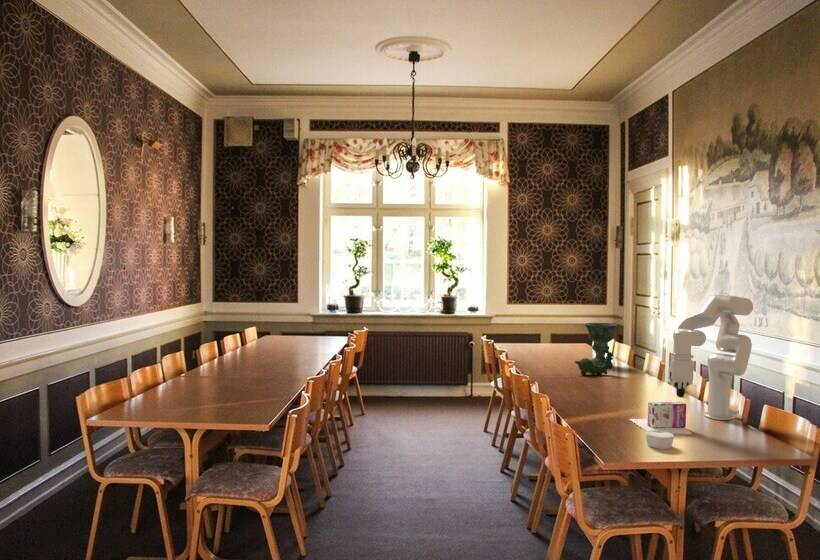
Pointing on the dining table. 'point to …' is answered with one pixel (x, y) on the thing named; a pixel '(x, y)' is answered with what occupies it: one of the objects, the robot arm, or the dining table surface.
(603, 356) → the goblet
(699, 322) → the robot arm
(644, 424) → the mat
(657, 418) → the candy bar box
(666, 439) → the ramekin
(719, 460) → the dining table surface
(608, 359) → the toy figurine
